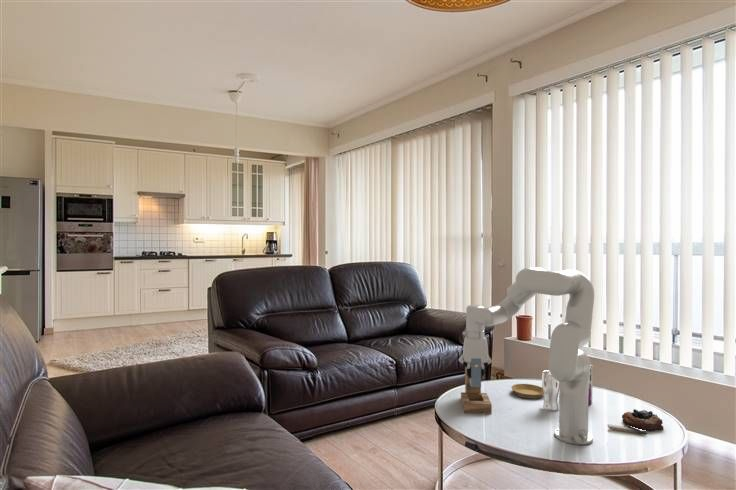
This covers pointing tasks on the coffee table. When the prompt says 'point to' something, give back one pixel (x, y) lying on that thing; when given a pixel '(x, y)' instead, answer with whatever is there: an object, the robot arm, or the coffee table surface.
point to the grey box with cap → (475, 372)
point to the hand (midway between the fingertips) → (475, 377)
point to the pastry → (642, 420)
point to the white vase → (550, 391)
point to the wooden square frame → (474, 399)
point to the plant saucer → (528, 390)
